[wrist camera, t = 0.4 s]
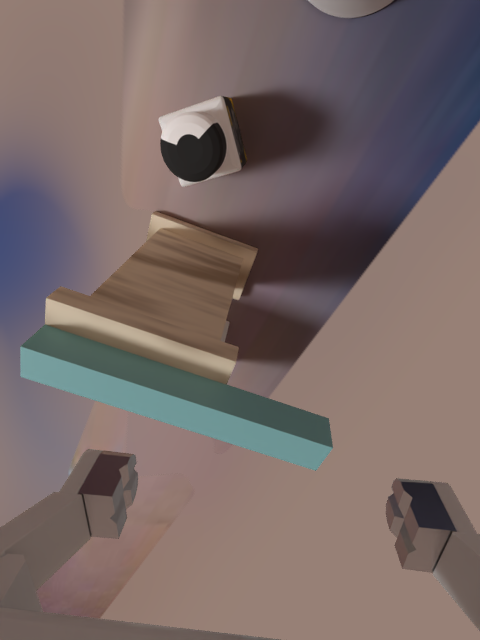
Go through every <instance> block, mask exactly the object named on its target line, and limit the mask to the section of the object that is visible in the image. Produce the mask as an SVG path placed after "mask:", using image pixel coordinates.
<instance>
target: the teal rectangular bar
mask: <svg viewBox="0 0 480 640" xmlns="http://www.w3.org/2000/svg"><path fill="white" fill-rule="evenodd" d="M21 377H23V378H27V379H30V380H33V381H36V382H39V383H42V384H45V385H48V386H52V387H55V388H58V389H61V390H64V391H67V392H70V393H73V394H77V395H80V396H83V397H86V398H90V399H92V400H95V401H99V402H102V403H105V404H108V405H111V406H114V407H117V408H121V409H124V410H127V411H130V412H133V413H136V414H139V415H143V416H146V417H149V418H152V419H155V420H158V421H161V422H165V423H168V424H171V425H174V426H177V427H180V428H184V429H187V430H190V431H193V432H196V433H199V434H202V435H206V436H209V437H212V438H215V439H218V440H221V441H224V442H227V443H231V444H234V445H237V446H240V447H243V448H246V449H249V450H253V451H256V452H259V453H262V454H265V455H268V456H272V457H275V458H278V459H281V460H284V461H287V462H290V463H293V464H297V465H300V466H303V467H306V468H309V469H312V470H315V471H316V470H317V469H318V467H319V466H320V465H321V463H322V462H323V461H324V459H325V458H326V457H327V455H328V454H329V453H330V451H331V450H332V448H333V446H332V439H331V431H330V424H329V419H328V418H326V417H322V416H319V415H316V414H313V413H311V412H308V411H305V410H301V409H299V408H296V407H292V406H290V405H287V404H283V403H281V402H278V401H275V400H272V399H269V398H265V397H262V396H259V395H256V394H253V393H250V392H247V391H244V390H241V389H238V388H235V387H232V386H229V385H226V384H223V383H220V382H217V381H214V380H211V379H208V378H205V377H202V376H199V375H196V374H193V373H190V372H187V371H184V370H181V369H178V368H175V367H172V366H169V365H166V364H163V363H160V362H157V361H154V360H151V359H148V358H145V357H142V356H139V355H136V354H133V353H130V352H127V351H124V350H121V349H118V348H115V347H112V346H109V345H106V344H103V343H100V342H97V341H94V340H91V339H88V338H84V337H81V336H78V335H75V334H72V333H69V332H66V331H63V330H60V329H57V328H54V327H51V326H48V325H44V326H43V327H42V328H40V329H39V330H38V331H37V332H36V333H35V334H34V335H33V336H32V337H31V338H29V339H28V340H27V341H26V342H25V343H24V344H23V345H22V346H21Z"/></svg>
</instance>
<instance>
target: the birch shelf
mask: <svg viewBox="0 0 480 640" xmlns="http://www.w3.org/2000/svg"><path fill="white" fill-rule="evenodd" d="M257 251H258V248H255V247H252V246H249V245H247V244H244V243H241V242H239V241H236V240H233V239H230V238H228V237H225V236H222V235H219V234H217V233H214V232H211V231H208V230H206V229H203V228H200V227H197V226H195V225H192V224H189V223H186V222H184V221H181V220H178V219H176V218H173V217H170V216H167V215H165V214H162V213H159V212H156V211H155V212H154V213H152V216H151V221H150V226H149V231H148V237H147V241H146V243H145V244H144V245H142V247H140V248H139V249H138V250H137V251H136V252H135V253H134V254H133V255H132V256H131V257H130V258H129V259H128V260H127V261H126V262H125V263H124V264H123V265H122V266H121V267H120V268H119V269H118V270H117V271H116V272H115V273H114V274H112V275H111V276H110V277H109V278H108V279H107V280H106V281H105V282H104V283H103V284H102V285H101V286H100V287H99V288H98V289H97V290H96V291H95V292H94V293H93V294H92V295H91V296H87V295H84V294H82V293H79V292H76V291H73V290H70V289H67V288H64V287H60V288H58V289H57V290H56V291H54V292H53V293H52V294H50V295H49V296H48V297H47V298H46V313H45V314H46V315H45V325H48V326H51V327H54V328H57V329H60V330H63V331H66V332H69V333H72V334H75V335H78V336H81V337H84V338H88V339H91V340H94V341H97V342H100V343H103V344H106V345H109V346H112V347H115V348H118V349H121V350H124V351H127V352H130V353H133V354H136V355H139V356H142V357H145V358H148V359H151V360H154V361H157V362H160V363H163V364H166V365H169V366H172V367H175V368H178V369H181V370H184V371H187V372H190V373H193V374H196V375H199V376H202V377H205V378H208V379H211V380H214V381H217V382H220V383H223V384H226V385H227V382H228V380H229V378H230V375H231V373H232V371H233V368H234V366H235V364H236V360H237V355H238V350H239V347H237V346H234V345H231V344H228V343H225V342H222V341H221V337H222V334H223V330H224V327H225V323H226V319H227V316H228V312H229V308H230V305H231V301H232V298H233V299H236V300H239V299H240V296H241V293H242V291H243V288H244V286H245V283H246V280H247V278H248V275H249V273H250V270H251V267H252V265H253V262H254V259H255V257H256V254H257Z"/></svg>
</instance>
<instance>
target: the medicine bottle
mask: <svg viewBox="0 0 480 640" xmlns="http://www.w3.org/2000/svg"><path fill="white" fill-rule="evenodd" d="M159 123H160V126H161V129H162V136H161V143H160V144H161V153H162V156H163V159H164V162H165V163H166V165H167V167H168V168H169V169H170V171H171V172H172V173H173V174H175V175H176V176H177V177H178V178H179V181H180V184H181V186H183V187H186V186H189V185H193V184H196V183H199V182H203V181H206V180H210V179H213V178H217V177H220V176H223V175H227V174H230V173H234V172H237V171H240V170H241V169H242V167H243V166H244V165H245V163H246V162H247V158H246V154H245V150H244V146H243V142H242V138H241V134H240V130H239V126H238V122H237V118H236V114H235V110H234V106H233V102H232V99H231V98H228V97H223V96H218V97H216V98H213V99H210V100H207V101H204V102H201V103H198V104H195V105H193V106H190V107H187V108H184V109H181V110H178V111H175V112H172V113H170V114H167V115H164V116H161V117H160V118H159Z"/></svg>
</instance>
